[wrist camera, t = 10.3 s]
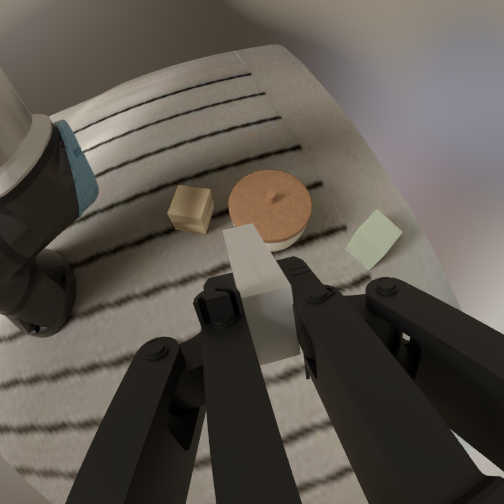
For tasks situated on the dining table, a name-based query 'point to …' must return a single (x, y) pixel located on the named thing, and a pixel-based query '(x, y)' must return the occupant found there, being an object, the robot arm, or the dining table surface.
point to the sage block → (373, 239)
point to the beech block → (191, 209)
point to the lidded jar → (271, 207)
